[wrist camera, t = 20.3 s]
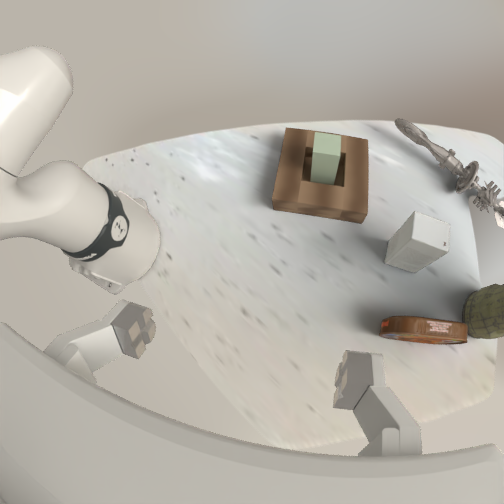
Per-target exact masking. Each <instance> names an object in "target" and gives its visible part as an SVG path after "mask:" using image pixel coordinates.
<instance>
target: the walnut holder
mask: <svg viewBox="0 0 504 504" xmlns="http://www.w3.org/2000/svg"><path fill="white" fill-rule="evenodd" d="M315 132H319V131H311V130H303V129H294V128H286V130H285V135H284V141H283V146H282V151H281V156H280V161H279V166H278V171H277V176H276V181H275V186H274V191H273V196H272V203H273V209H274V210H278V211H285V212H292V213H299V214H306V215H312V216H319V217H325V218H331V219H337V220H343V221H349V222H355V223H360V224H362V222H363V221H364V219H365V217H366V216H367V212H368V140H367V139H362V138H356V137H351V136H345V135H340V136H341V152H340V160H339V164H338V169H337V173H336V177H335V182H334V185H328V184H322V183H315V182H310V180H311V168H312V155H313V146H314V137H315ZM320 133H326V132H320ZM327 134H333V133H327ZM334 135H339V134H334Z"/></svg>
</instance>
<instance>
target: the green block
mask: <svg viewBox="0 0 504 504" xmlns="http://www.w3.org/2000/svg"><path fill="white" fill-rule="evenodd" d="M340 152H341V136H340V135H334V134H327V133H320V132H315V137H314V146H313V155H312V168H311V180H310V182H315V183H322V184H328V185H334V182H335V177H336V173H337V169H338V164H339V160H340Z"/></svg>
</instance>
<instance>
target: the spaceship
mask: <svg viewBox="0 0 504 504" xmlns="http://www.w3.org/2000/svg"><path fill="white" fill-rule="evenodd" d="M395 125H396V126H397V128H398V129H399V130H400V131H401V132H402V133H403V134H404V135H405V136H407V137H408V138H410V139H411V140H412V141H414V142H415V143H416V144H419V145H422V146H424V147H426V148H428V150H429V151H430V152H431V153H432V154H433V156H434V157H435V158H436V159H437V160H438V161H439V162H440V163H439V167H440V168H441V169H444V168H445V167H446V168H447V169H448V170H450V171H451V172H452V173H453V174H454V175H459V178H458V181H457V184H456V192H457V193H459V194H460V193H462V192H464V191H465V190H467V189H472V188H475V189H477V190H478V194H477V197H476V199H475V200H474V201H473V203H474V204H475V203H476V202H477V201H479V203H478V204H477V207H479V206H480V205H482V204H483V206H482V207H481V208H480V210H481V211H482V210H483V209H484V208H485V207H486V209H487V212H489V211H488V208H487V204H488V205H489V206H490V207H491V206H493V207H494V211H495V214H494V215H495V219H496V222H497V225H498V226H499V227H501V228H503V229H504V202H503V201H501V202H500V203H499V205H498V204H497V203H496V197H497V195H498V194H499V192H500V191H501V190H500V189H498V190H497V191H496V192H495V193H494V191H495V189H496V188H497V185H495V186H494V187H493V188H491V186H492V185H493V184H494V182H493V181H491V182H490V183H489V184H488V185H487V184H486V182H485V181H484V182H485V184H486V186H487V189H486V188H485V187H480V186H479V184H477V182H478V180H479V177H478V176H477V173H478V168H479V164H478V162H477V161H473V162H471V163H470V164H469V165H468V166H466V167H465V169H464V168H463V165H462V163H461V162H460V160H458V159H456V158H455V157H454V155H455V152H454V151H453V150H452V149H450V150H449V151H447V150H446V149H444V148H443V147H441V146H439V145H436V144H434V143H432V142H431V141H430V140H429V139H428V137H427V136H426V134H425V133H424V132H423V131H421V130H420V129H419V128H417V127H416V126H415V125H413V124H412V123H410V122H408V121H406V120H403V119H396V120H395Z"/></svg>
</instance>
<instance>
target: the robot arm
mask: <svg viewBox="0 0 504 504" xmlns="http://www.w3.org/2000/svg"><path fill="white" fill-rule="evenodd" d="M72 94H73V77H72V72H71V69H70V66H69V64H68V62H67V61H66V59H65V58H64V57H63V56H62V55H61V54H60V53H59V52H57V51H55V50H54V49H52V48H48V47H45V46H31V47H27V48H24V49H21V50H18V51H15V52H11V53H7V54H2V55H0V240H3V239H8V238H13V237H30V238H35V239H38V240H41V241H44V242H46V243H49V244H52V245H54V246H56V247H59V248H61V250H62V251H63V252H64V254H65V255H67V256H68V257H69V262H70V266H71V267H72V269H73V270H74V271H76V272H78V273H80V274H82V275H84V276H85V277H87V278H88V279H90V280H91V281H93V282H94V283H96V284H97V285H99V286H101V287H102V288H104V289H105V290H107V291H108V292H110V293H112V294H114V295H116V294H118V293H119V292H121V291H122V290H123V289H124V287H125V286H126V285H127V284H129V283H131V282H133V281H135V280H137V279H139V278H140V277H142V276H143V275H144V274H145V273H146V272H147V271H148V270H149V269H150V267H151V266H152V264H153V263H154V261H155V259H156V257H157V254H158V251H159V246H160V232H159V228H158V225H157V223H156V221H155V220H154V218H153V217H152V216H151V215H150V214H149V212H148V208H147V204H146V202H145V201H144V200H143V199H141V198H139V199H132V198H131V197H129V196H128V195H127V194H125V193H124V192H122V191H118V192H113V191H112V190H111V189H110V188H108V187H107V186H105V185H103V184H101V183H98V182H96V181H95V180H94V179H93V178H92V177H90V176H89V175H88V174H87V173H86V172H85V171H84V170H82V169H81V168H80V167H79V166H78V165H77V164H75V163H73V162H71V161H66V160H60V161H54V162H51V163H48V164H46V165H44V166H42V167H41V168H39V169H38V170H36V171H35V172H33V173H31V174H29V175H27V176H24V177H19V178H18V175H19V174H20V172H21V171H22V169H23V168H24V166H25V164H26V163H27V161H28V160H29V159H30V157H31V156H32V154H33V153H34V151H35V150H36V148H37V147H38V146H39V144H40V143H41V142H42V140H43V139H44V137H45V136H46V135H47V134H48V132H49V131H50V130H51V128H52V127H53V125H54V124H55V122H56V120H57V119H58V117H59V115H60V114H61V112H62V110H63V109H64V107H65V105H66V104H67V102H68V101H69V99H70V97H71V96H72ZM110 284H111V286H110ZM152 316H153V313H152V310H151V309H149V308H147V307H144V306H141V305H138V304H135V303H132V302H129V301H126V300H120V301H119V302H118V303H117V304H116V305H115V306H114V307H113V308H112V309H111V310H110V311H109V313H108V314H107V315H106V316H105V317H104V318H103V319H102V320H101V321H100V320H97V321H94V322H91V323H89V324H86V325H84V326H81V327H78V328H76V329H73V330H71V331H68V332H66V333H63V334H60V335H58V336H57V337H56V338H55V339H54V340H53V342H51V344H50V345H49V346H48V347H47V348H46V349H45V350H44V351H43V352H42V351H41V350H39V349H38V348H37V347H35V346H34V345H33V344H31V343H30V342H28V341H27V340H26V339H25V338H23V337H22V336H20V335H19V334H18V333H17V332H16V331H14V330H13V329H12V328H11V327H9V326H8V325H7V324H5V323H2V322H1V323H0V504H504V454H503V452H502V451H501V450H500V449H499V448H498V447H497V446H496V445H495V444H484V445H480V446H476V447H471V448H465V449H460V450H454V451H447V452H440V453H432V454H424V455H423V454H422V442H421V429H420V426H419V424H418V423H417V422H416V421H415V419H414V418H413V417H412V415H411V414H410V413H409V411H408V410H407V409H406V408H405V406H404V405H403V404H402V402H401V401H400V400H399V399H398V397H397V396H396V395H395V393H394V392H393V391H392V390H391V388H390V387H386V378H385V368H384V360H383V355H382V354H377V353H368V352H359V351H350V350H346V351H345V352H344V354H343V362H341V363H340V364H339V366H338V369H337V372H336V377H335V386H336V388H337V389H336V391H335V393H334V402H333V408H339V409H347V410H353V412H354V414H355V416H356V418H357V420H358V422H359V424H360V426H361V428H362V429H363V431H364V433H365V435H366V437H367V439H368V441H369V444H368V445H367V446H366V447H365V448H364V449H363V450H362V451H361V452H360V453H358V456H341V455H328V454H317V453H309V452H301V451H295V450H288V449H282V448H276V447H271V446H266V445H261V444H255V443H251V442H247V441H242V440H238V439H235V438H231V437H227V436H223V435H220V434H216V433H213V432H210V431H206V430H203V429H200V428H197V427H194V426H191V425H187V424H185V423H182V422H179V421H176V420H174V419H171V418H168V417H165V416H163V415H161V414H158V413H156V412H153V411H151V410H148V409H146V408H144V407H141V406H139V405H137V404H135V403H132V402H130V401H128V400H126V399H124V398H122V397H120V396H117V395H115V394H113V393H111V392H109V391H107V390H105V389H103V388H102V387H100V386H98V385H96V383H97V381H96V378H95V377H94V375H93V373H92V372H94V371H96V370H97V369H99V368H101V367H103V366H104V365H106V364H108V363H110V362H111V361H113V360H115V359H117V358H118V357H120V356H122V355H123V354H125V355H128V356H131V357H133V358H136V359H139V358H140V357H141V355H142V354H143V352H144V351H145V349H146V346H145V345H146V344H148V343H150V342H151V341H152V339H153V338H154V335H155V331H156V326H155V322H154V321H153V320H152V319H151V317H152Z"/></svg>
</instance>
